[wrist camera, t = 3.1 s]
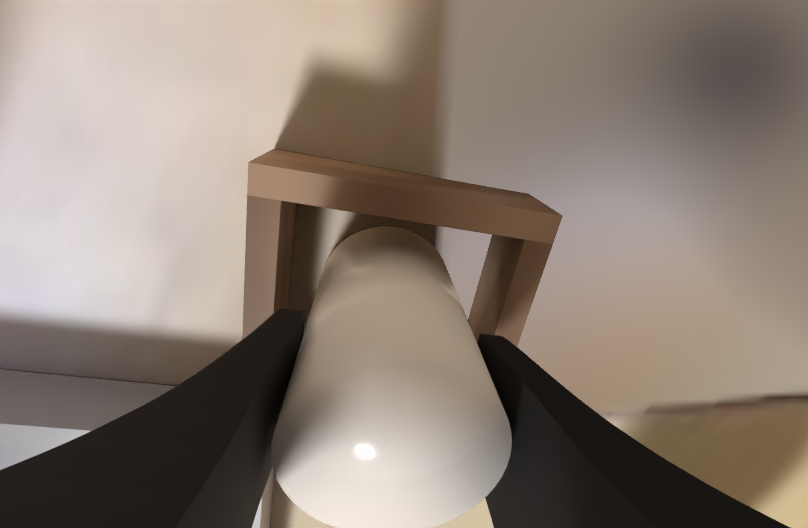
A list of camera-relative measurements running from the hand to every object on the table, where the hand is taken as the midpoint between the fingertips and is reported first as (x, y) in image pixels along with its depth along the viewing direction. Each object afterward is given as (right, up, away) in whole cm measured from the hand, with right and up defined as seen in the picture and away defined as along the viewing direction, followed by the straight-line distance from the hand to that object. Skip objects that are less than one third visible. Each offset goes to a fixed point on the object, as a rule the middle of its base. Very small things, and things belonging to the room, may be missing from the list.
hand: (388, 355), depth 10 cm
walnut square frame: (0, +2, +4) cm, 4 cm away
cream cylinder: (0, +2, +4) cm, 4 cm away
